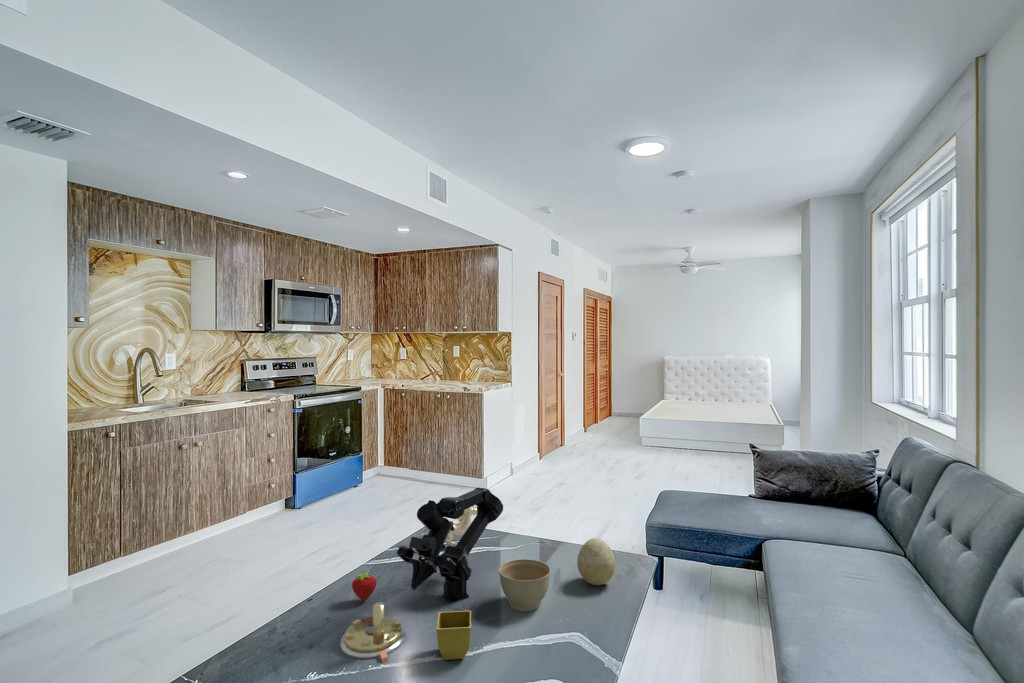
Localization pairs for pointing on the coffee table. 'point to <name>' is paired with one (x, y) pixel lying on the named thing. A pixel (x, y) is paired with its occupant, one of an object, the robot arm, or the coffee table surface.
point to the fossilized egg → (596, 562)
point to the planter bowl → (524, 583)
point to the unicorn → (461, 525)
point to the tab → (383, 656)
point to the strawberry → (364, 586)
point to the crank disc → (383, 632)
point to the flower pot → (454, 634)
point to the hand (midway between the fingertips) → (412, 588)
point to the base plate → (375, 654)
